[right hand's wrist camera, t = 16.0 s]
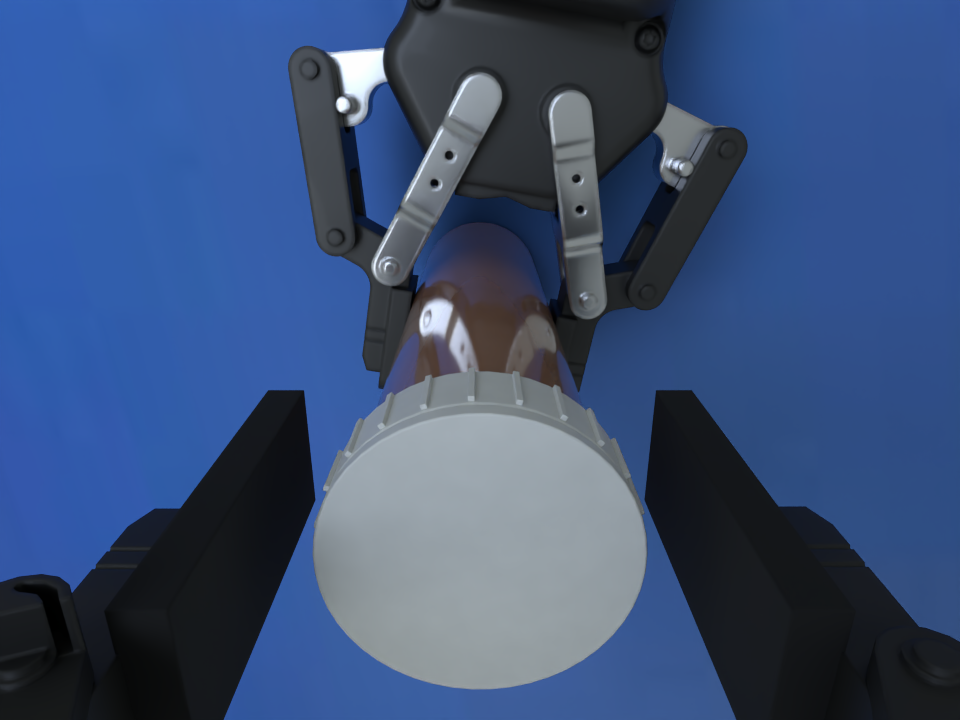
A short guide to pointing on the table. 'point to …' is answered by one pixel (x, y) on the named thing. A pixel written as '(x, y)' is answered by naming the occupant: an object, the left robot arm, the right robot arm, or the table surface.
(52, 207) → the table surface
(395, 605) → the lid
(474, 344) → the jar
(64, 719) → the right robot arm
